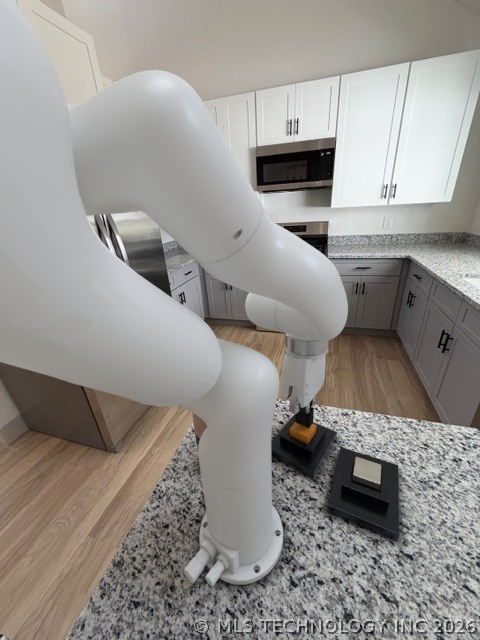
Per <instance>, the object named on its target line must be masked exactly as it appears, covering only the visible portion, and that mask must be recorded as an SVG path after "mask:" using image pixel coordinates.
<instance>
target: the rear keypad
mask: <svg viewBox="0 0 480 640" xmlns="http://www.w3.org/2000/svg"><path fill="white" fill-rule="evenodd" d="M294 423H295V414H293V415H292V417H291V418H290V419H289V420H288V421H287V423H286V424H285V425H284V426H283V427H282V428H281V430H280V431H279V432H278V433H277V434H276V436H274V438H273V439H272V440H271V458H274V459H276V460H278V461H280V462H281V463H282V464H284V465H287V466H288V467H290V468H291V469H294V470H296V471H297V472H299V473H301V474H303V475H305V476H307V477H309V478H311V480H314V479H315V477H316V475H317V474H318V472H319V470H320V468H321V466H322V465H323V463H324V462H325V460H326V457H327V456H328V454H329V452H331V451H330V450H331V449H332V448H333V445H334V443H335V442H336V440H337V438H338V437H337V436H338V431H336V430H333V429H331V428H328V427H326V426H324V425H321V424H319V423H317V422H314V421H313V424H315V425H317V426H316V433H315V435H314V436H313V438H312V439H311V441H310V442H309V444H306V443H304V442H302V441H300V440H298V439H296V438H294V437H291V436H290V428H291V427H292V426H293V424H294Z"/></svg>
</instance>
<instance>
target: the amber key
mask: <svg viewBox="0 0 480 640" xmlns="http://www.w3.org/2000/svg"><path fill="white" fill-rule="evenodd" d="M316 426H317V425H315V424H312V425H311V427H310V428H307V427H304V426H302V425H300V424H298V423H296V422H295V423H294V424H293V426H292V427H291V428H290V436H291V437H294V438H296V439H298V440H300V441H302V442H304V443H306V444H309V442H310V441H311V439H312V438H313V436H314V435H315V433H316Z"/></svg>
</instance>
